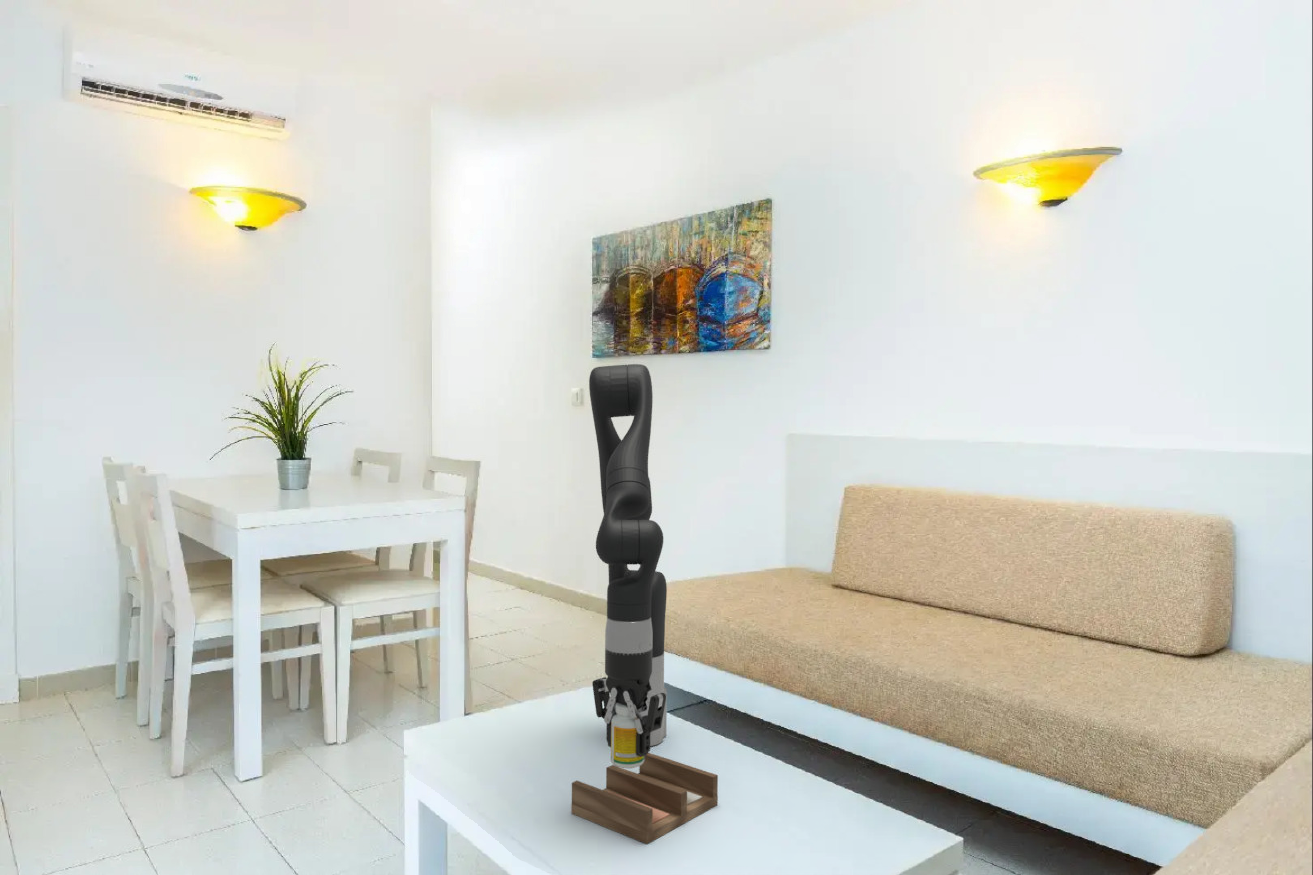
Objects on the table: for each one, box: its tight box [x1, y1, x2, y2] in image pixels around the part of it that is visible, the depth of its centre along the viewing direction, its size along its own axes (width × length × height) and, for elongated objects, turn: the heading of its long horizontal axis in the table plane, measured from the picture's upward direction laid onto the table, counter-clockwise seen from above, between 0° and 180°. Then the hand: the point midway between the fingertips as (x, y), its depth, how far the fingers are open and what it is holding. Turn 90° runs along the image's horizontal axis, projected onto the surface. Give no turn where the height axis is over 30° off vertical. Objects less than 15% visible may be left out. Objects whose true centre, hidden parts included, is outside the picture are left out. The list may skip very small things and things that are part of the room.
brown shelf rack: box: [570, 752, 719, 845], centre depth 154 cm, size 18×16×5 cm
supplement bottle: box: [610, 703, 644, 769], centre depth 150 cm, size 5×5×10 cm
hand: (627, 749), depth 150 cm, fingers closed on supplement bottle, 5 cm apart
